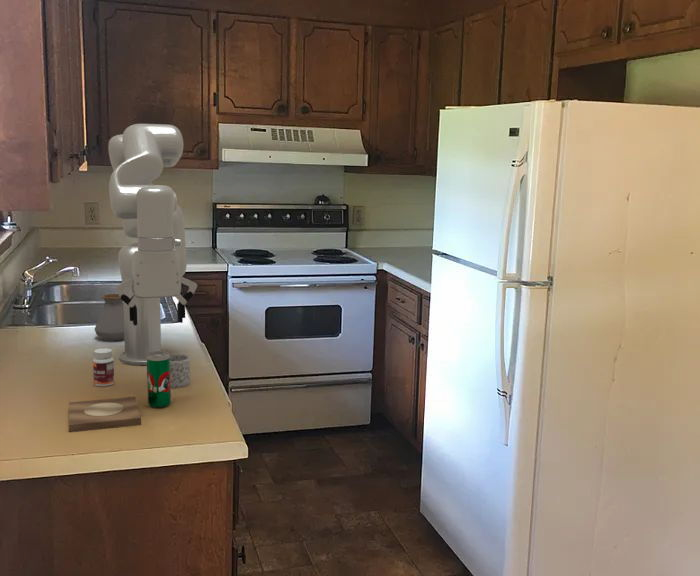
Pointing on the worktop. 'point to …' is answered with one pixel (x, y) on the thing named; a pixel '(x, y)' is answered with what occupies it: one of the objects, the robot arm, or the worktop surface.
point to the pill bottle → (103, 367)
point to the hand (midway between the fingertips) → (157, 322)
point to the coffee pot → (111, 319)
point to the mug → (179, 370)
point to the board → (103, 414)
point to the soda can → (158, 379)
